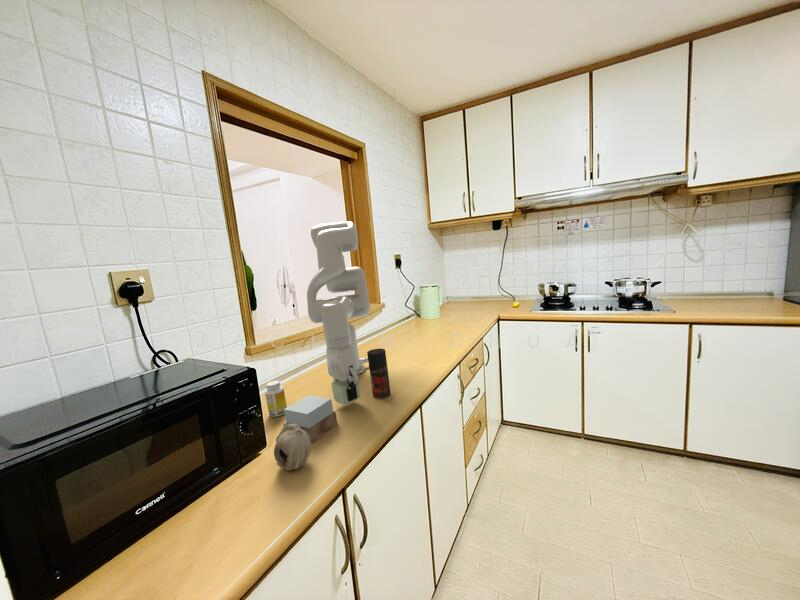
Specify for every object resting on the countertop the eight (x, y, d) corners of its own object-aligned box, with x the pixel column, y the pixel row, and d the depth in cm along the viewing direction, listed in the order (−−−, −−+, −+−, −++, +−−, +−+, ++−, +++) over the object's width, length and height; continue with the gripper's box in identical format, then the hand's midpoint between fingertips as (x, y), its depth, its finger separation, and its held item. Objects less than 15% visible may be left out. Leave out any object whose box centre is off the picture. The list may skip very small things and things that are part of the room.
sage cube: (350, 392, 107) (347, 375, 106) (360, 397, 102) (357, 380, 101) (334, 400, 103) (331, 382, 102) (344, 405, 99) (341, 387, 98)
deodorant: (369, 396, 108) (363, 353, 106) (382, 389, 112) (376, 347, 110) (381, 400, 104) (375, 355, 102) (394, 393, 108) (388, 349, 106)
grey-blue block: (310, 407, 97) (308, 395, 96) (333, 412, 92) (331, 398, 91) (286, 423, 89) (283, 409, 88) (309, 428, 84) (307, 414, 84)
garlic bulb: (283, 456, 80) (276, 418, 78) (318, 450, 80) (311, 412, 79) (270, 482, 70) (262, 439, 69) (310, 476, 71) (303, 433, 69)
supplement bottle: (289, 408, 107) (284, 378, 105) (285, 416, 101) (279, 385, 100) (272, 410, 106) (266, 381, 105) (266, 419, 101) (261, 387, 99)
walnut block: (311, 419, 98) (309, 407, 97) (337, 424, 93) (335, 411, 92) (285, 438, 89) (283, 424, 88) (313, 444, 84) (310, 430, 84)
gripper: (314, 341, 103) (322, 393, 107) (343, 350, 91) (352, 409, 94) (334, 334, 108) (342, 385, 111) (365, 342, 95) (372, 399, 99)
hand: (346, 396), depth 103 cm, fingers closed on sage cube, 6 cm apart
